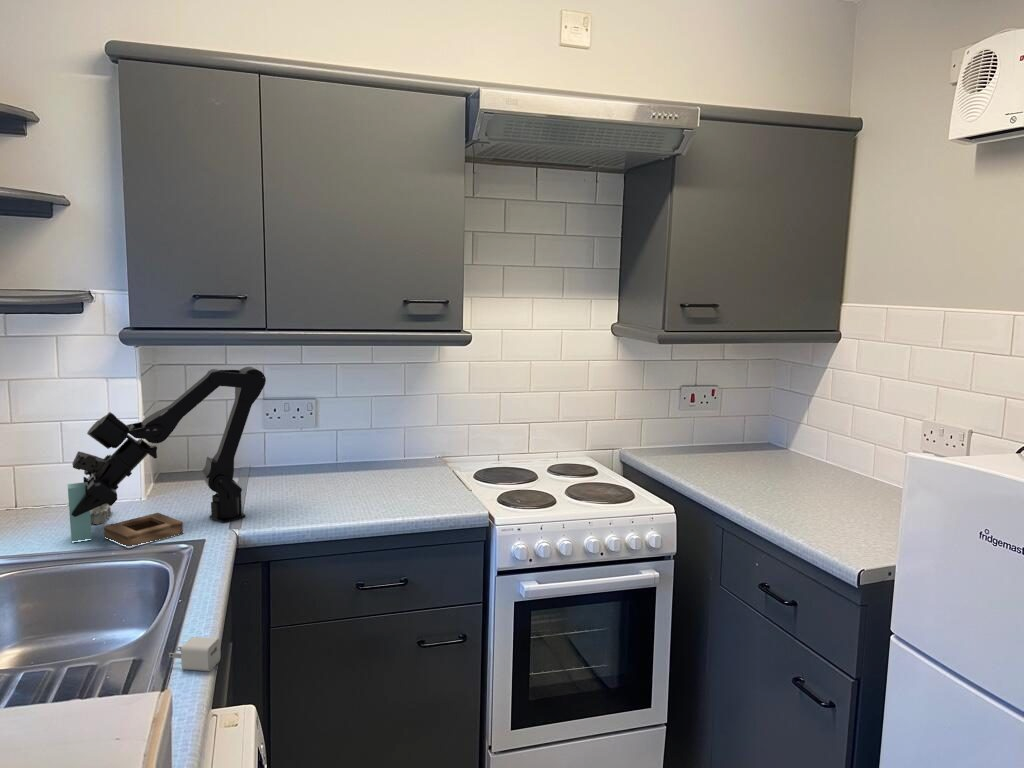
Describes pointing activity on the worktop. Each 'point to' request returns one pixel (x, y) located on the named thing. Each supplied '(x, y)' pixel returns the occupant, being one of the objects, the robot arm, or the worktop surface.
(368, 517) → the worktop surface
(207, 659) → the usb wall charger
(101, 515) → the miniature castle
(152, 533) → the walnut box
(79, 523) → the teal post
